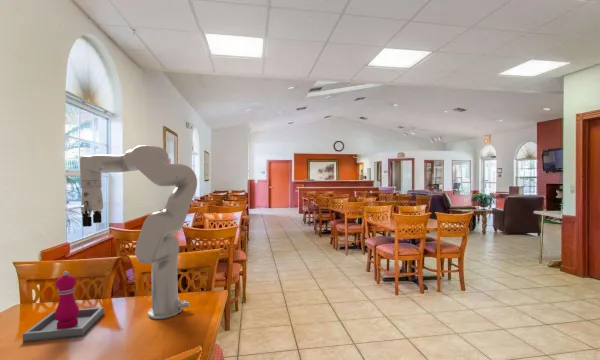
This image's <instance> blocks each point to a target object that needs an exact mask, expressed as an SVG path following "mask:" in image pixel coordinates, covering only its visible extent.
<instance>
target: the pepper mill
mask: <svg viewBox="0 0 600 360" xmlns="http://www.w3.org/2000/svg"><path fill="white" fill-rule="evenodd" d="M76 284H77V279H76V277H75V276H74V275H72V274H69V271H67V270H64V271H63V272H62V275H61V276H59V277H58V278H57V280H56V282H55V287H56V289H57V295H59V301H58V304H57V306H56V309H55V311H56V312H55V319H56V320H57V321H58V322H57V328H58V329H65V328H71V327H73V326H75V325H77V323H78V318H77V315H78V314H79V309H80V308H79V306H78V304H77V302H76V300H75V298H74V293H75V287H74V286H75V285H76Z"/></svg>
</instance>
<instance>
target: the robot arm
mask: <svg viewBox="0 0 600 360" xmlns="http://www.w3.org/2000/svg"><path fill="white" fill-rule="evenodd" d="M168 161H169V153H168V152H167V150H165V149H164V148H163V147H160V146H154V145H145V144H144V145H143V144H142V145H138V146H136V147H134V148H133V149H128V150H127V151H126V152H125V153H124V154H121V155H115V154H94V155H81V156H80V158H79V174H80V175H79V177H80V189H81V202H80V203H81V204H80V211H81V212H80V213H81V217H82V227H92V226H93V225H92V224H100V223H102V213H103V211H102V210H103V209H104V199H103V193H102V187H103V185H102V173H125V172H127V173H128V172H135V171H140V172H141V173H142V174H143V175H144V176H145V177H146V178H147V179H148V180H149V181H150V182H152V183H153V184H154V185H156V186H158V187H175V188H174V189H173V190H172V192H171V193H170V194H169V196H168V198H167V202H166V205H165V207H164V209H162V210H158V211H155V212H152V213H151V214H149V215H147V216H146V218H145V220H144V221H143V223H142V227H141V228H140V233H139V236H138V238H137V241H136V244H135V249H134V251H135V252H134V255H135V257H136V260H137V261H138V262H139V263H141V264H143V265H149V264H151V272H150V273H151V277H150V278H151V305H152V306H151V308H150V309H149V310H148V312H147V315H148V316H147V317H149V318H151V319H153V320H154V319H155V320H163V319H168V318H169V319H170V318H172V316H173V317H175V316H177V315H179V314H180V313H182V312H183V308H190V301H188V300H180V299H181V298H180V297H179V294H178V290H179V288H178V257H179V251H180V242H179V239H178V237H177V236H176V235H175V233H178V232H180V231H181V230H182V228H183V226H184V224H185V221H186V219H187V215H188V212H189V209H190V207H191V204H192V201H193V199H194V197H195V194H196V191H197V188H198V178H197V175H196V173H195V171H194V170H193V168H192V167H190V166H188V165H186V164H182V163H168ZM92 212H93V214H92ZM178 313H179V314H178Z"/></svg>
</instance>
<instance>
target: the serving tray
mask: <svg viewBox="0 0 600 360" xmlns="http://www.w3.org/2000/svg"><path fill="white" fill-rule="evenodd" d="M55 312H56V310H53V311H52V312H49V314H48V315H46V316H45V317H44V318H42V319H41V320H40V321H38V322H36V324H34V325H33V326H31V327H30V328H29V329H27V330H26V331H25V332H22V343H29V342H41V341H50V340H58V339H59V340H61V339H69V338H71V339H72V338H80V337H84V336H85V335H86V334H87V332H89V330H90V329H91V328H92V327H93V326H94V325H95V324H96V323H97V322H98V321H99V320H100V318H102V317H103V315H104V314H105V308H104V307H103V306H100V307H91V308H90V307H89V308H79V314H78V315H77V318H78V323H77V325H75V326H73V327H71V328H65V329H58V328H57V322H58V321H57V320H56V319H55Z"/></svg>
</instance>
